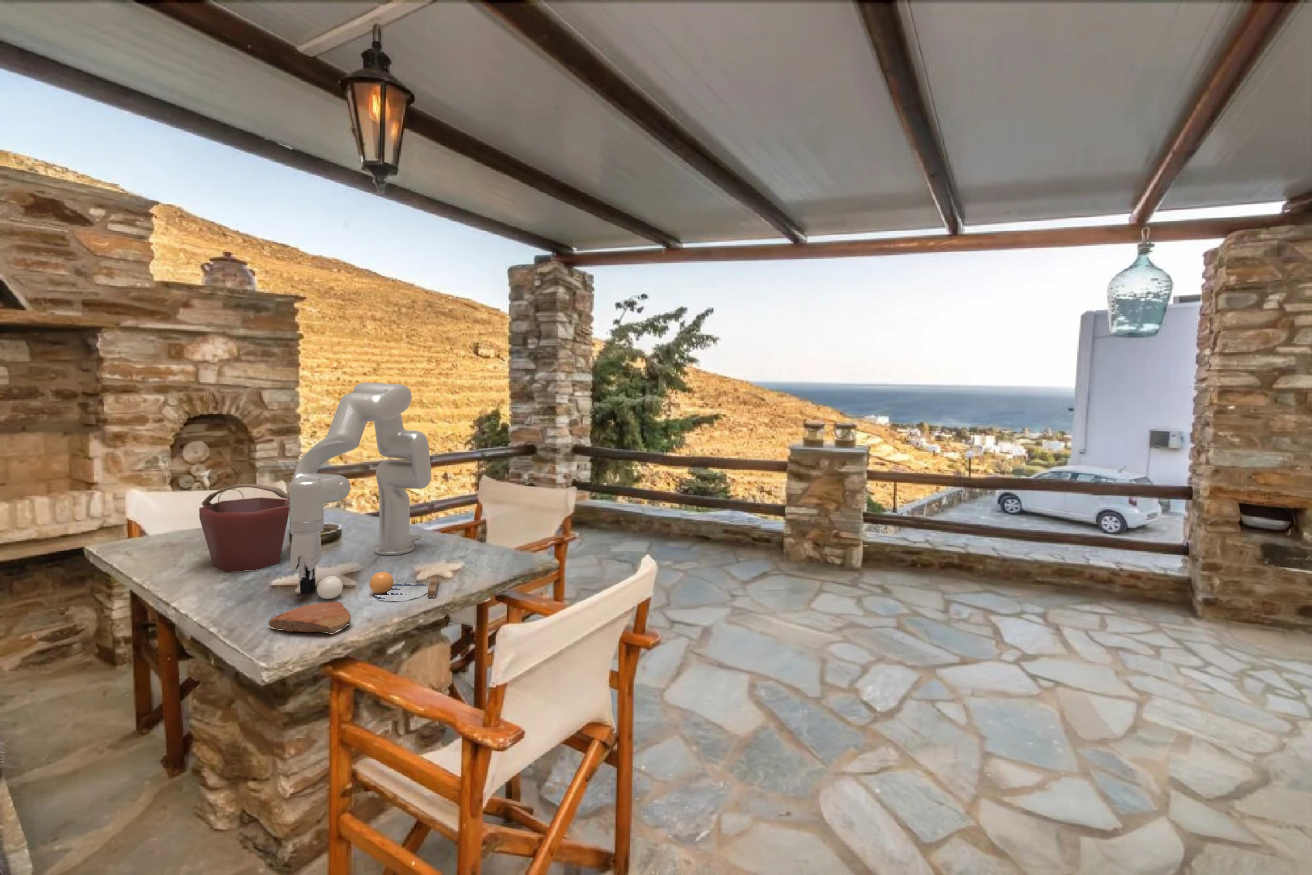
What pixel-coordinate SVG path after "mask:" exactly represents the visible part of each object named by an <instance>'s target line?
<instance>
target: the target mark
mask: <svg viewBox="0 0 1312 875" xmlns="http://www.w3.org/2000/svg"><path fill="white" fill-rule="evenodd" d="M404 583H405V584H404V585H402V584H398V583H394V584H393V586H428V585H427V584H424V583H421V584H416V585H411V584H406V583H407V582H404ZM391 590H400V589H397V588H395V589H394V588H391ZM373 595H389V594H387V593H384V594H376V593H374V594H373ZM391 595H399V594H398V593H396V594H394V593H391ZM400 595H403V594H402V593H400ZM405 595H406V594H405ZM374 598H375V599H376V598H377V599H376V600H378V599H385V598H381V597H377V596H375V597H374Z"/></svg>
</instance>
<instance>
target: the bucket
mask: <svg viewBox="0 0 1312 875" xmlns="http://www.w3.org/2000/svg"><path fill="white" fill-rule="evenodd" d="M234 488H235V489H236V488H252V489H253V488H254V489H259V490H263V491H268V492H272V493H274V494H275V495H276V496H278V497H279V498H274V497H273V498H272V497H253V498H251V497H250V498H241V499H231V500H230V499H229V500H221V501H218V502H214V503H211V501H212V500H213V499H215V497H216V496H218V495H219V494H221V493H223V492H226V491H228V490H230V489H231V490H232V489H234ZM201 506H202V507H199V508H198V509H199V510H198V511H199V512H198V515H199V516H198V517H199V522H200V524H201V528H202V531H203V534H204V538H205V541H206V545H207V548H208V552H209V555H210V558H211V562H212V566H213V568H214V567H215V568H214V569H216V568H217V569H216V570H218V569H220V570H222V571H224V572H223V573H225V572H227V573H232V572H231V571H243V572H245V571H244V570H256V569H259V570H262V569H265V567H266V568H268V566H269V567H272V566H271V565H273V566H276V565H279V564H280V561H281V560H280V559H281V556H282V550H283V547H284V546H283V545H284V540H285V535H286V530H287V524H288V520H289V517H290V502H289V493H287V492H285V491H284V490H282V488H279V487H275V486H270V485H264V484H256V483H250V484H249V483H241V484H233V485H231V486H227V487H226V488H225V487H224V488H222V489H220V490H217V491H215V492H212V493H210V494H209V495H207V497H205V499H203V501H202V502H201ZM261 568H262V569H261ZM220 570H219V571H220ZM222 571H221V572H222ZM256 571H257V570H256Z"/></svg>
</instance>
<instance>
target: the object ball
mask: <svg viewBox="0 0 1312 875" xmlns="http://www.w3.org/2000/svg"><path fill="white" fill-rule="evenodd" d="M394 579H395V578H394V577H393V575H392V574H390V573H389V572H386V571H380V572H377V573H375V574H374V575H372V576H371V578H370V580H369V588H370V590H371V591H372V592H373V593H374V594H375V593H376V594H384V593H387V592H388V591H390V590H391V588H392V587H393V584H395V582H394V581H395V580H394Z"/></svg>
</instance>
